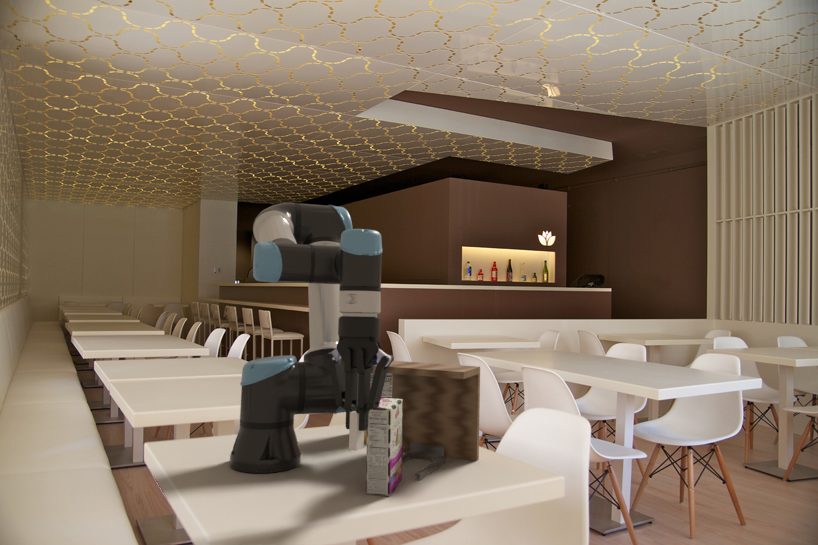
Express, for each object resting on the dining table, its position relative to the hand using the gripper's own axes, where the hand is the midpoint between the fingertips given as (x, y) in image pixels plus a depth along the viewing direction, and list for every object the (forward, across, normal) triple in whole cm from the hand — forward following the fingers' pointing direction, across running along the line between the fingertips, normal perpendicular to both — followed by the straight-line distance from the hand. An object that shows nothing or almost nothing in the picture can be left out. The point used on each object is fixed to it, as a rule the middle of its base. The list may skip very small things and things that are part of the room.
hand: (356, 448), depth 101 cm
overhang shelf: (+10, 0, +30) cm, 31 cm away
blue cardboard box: (+10, -21, +48) cm, 54 cm away
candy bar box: (+10, 0, +12) cm, 16 cm away
